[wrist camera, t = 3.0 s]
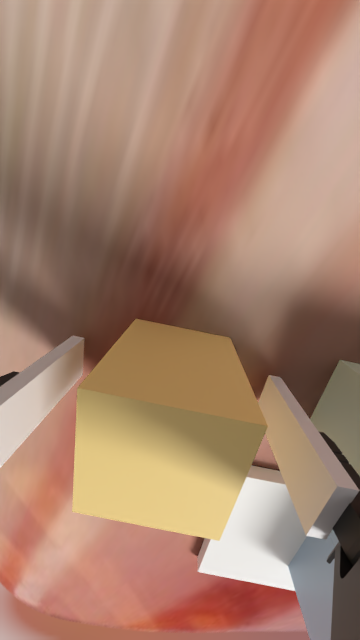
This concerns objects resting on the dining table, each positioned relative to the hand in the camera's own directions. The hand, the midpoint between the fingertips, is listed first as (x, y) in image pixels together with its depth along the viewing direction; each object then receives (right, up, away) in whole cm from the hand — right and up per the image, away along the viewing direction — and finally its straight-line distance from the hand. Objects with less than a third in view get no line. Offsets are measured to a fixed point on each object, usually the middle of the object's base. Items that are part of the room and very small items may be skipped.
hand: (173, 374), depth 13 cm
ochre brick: (0, 0, +1) cm, 1 cm away
